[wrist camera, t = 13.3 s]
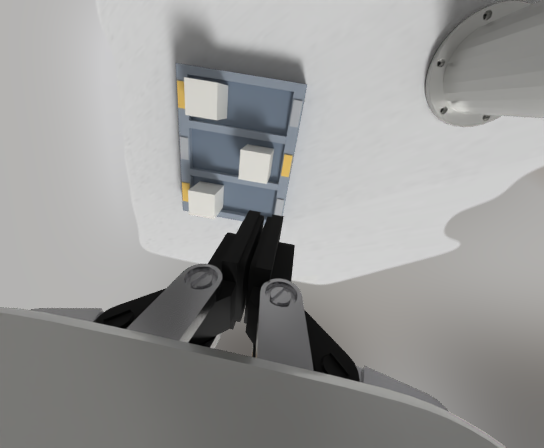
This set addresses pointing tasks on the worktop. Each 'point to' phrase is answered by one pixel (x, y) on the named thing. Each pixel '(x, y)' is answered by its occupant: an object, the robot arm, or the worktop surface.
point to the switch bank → (240, 139)
